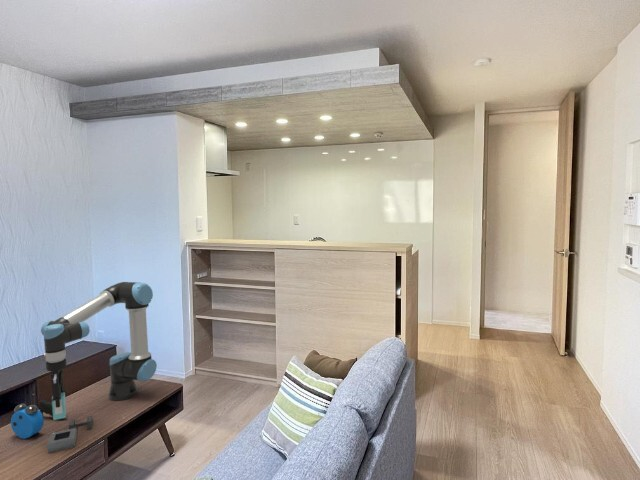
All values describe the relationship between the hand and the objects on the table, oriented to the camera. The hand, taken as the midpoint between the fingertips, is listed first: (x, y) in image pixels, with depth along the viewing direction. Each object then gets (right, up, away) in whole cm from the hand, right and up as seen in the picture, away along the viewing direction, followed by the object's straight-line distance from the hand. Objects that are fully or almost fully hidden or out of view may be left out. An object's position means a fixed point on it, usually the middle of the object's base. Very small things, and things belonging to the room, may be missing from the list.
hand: (59, 410), depth 186 cm
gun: (-19, -15, +26) cm, 35 cm away
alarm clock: (-21, -16, +10) cm, 28 cm away
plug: (0, -3, 0) cm, 3 cm away
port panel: (+1, -16, +2) cm, 16 cm away
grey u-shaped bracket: (+1, -14, +15) cm, 21 cm away
